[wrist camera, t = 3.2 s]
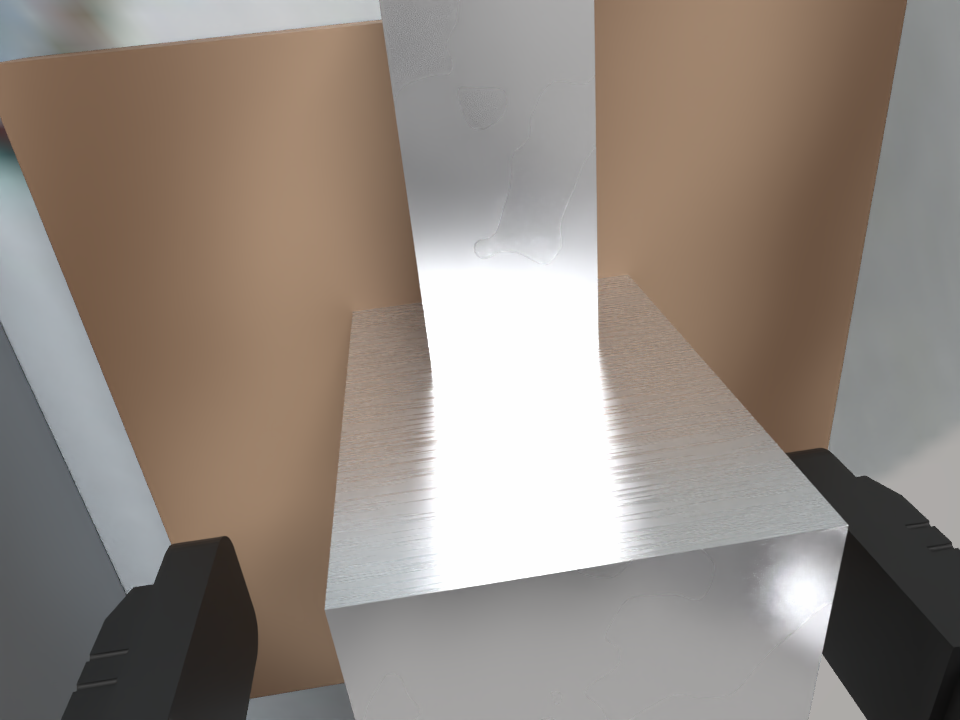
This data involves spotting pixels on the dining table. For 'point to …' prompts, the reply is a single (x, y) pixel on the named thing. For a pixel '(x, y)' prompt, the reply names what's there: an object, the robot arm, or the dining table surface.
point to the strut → (550, 433)
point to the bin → (43, 561)
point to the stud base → (390, 246)
